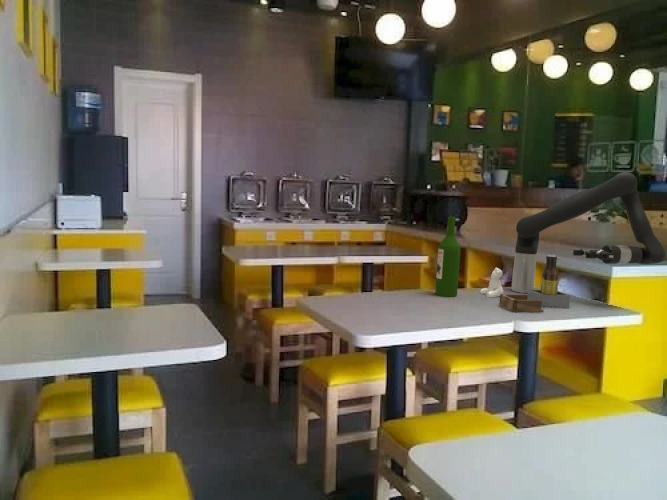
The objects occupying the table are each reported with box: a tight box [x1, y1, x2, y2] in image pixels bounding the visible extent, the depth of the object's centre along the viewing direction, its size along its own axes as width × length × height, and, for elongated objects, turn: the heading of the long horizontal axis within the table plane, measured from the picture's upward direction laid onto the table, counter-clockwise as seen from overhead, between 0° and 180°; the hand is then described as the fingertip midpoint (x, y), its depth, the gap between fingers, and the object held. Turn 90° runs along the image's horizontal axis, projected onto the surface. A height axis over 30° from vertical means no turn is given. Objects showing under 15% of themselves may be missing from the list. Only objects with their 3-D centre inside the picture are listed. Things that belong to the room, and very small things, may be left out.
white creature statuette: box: [480, 267, 504, 298], centre depth 261 cm, size 10×9×12 cm
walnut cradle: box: [498, 293, 544, 313], centre depth 236 cm, size 12×12×4 cm
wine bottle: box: [434, 216, 461, 298], centre depth 255 cm, size 9×9×32 cm
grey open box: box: [527, 289, 571, 309], centre depth 247 cm, size 11×12×5 cm
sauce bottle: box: [540, 254, 559, 295], centre depth 246 cm, size 6×6×20 cm
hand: (579, 254), depth 247 cm, fingers open, 8 cm apart
